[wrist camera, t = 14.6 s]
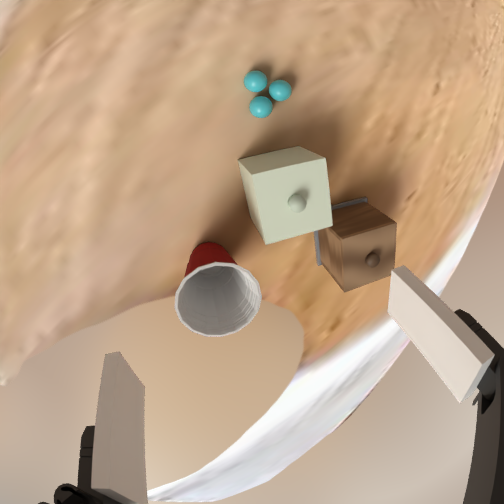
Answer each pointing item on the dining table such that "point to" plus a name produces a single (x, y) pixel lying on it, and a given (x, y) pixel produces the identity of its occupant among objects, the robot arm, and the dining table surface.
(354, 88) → the dining table surface
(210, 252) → the plastic cup
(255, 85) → the marbles
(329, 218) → the sage cover
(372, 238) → the walnut cover
